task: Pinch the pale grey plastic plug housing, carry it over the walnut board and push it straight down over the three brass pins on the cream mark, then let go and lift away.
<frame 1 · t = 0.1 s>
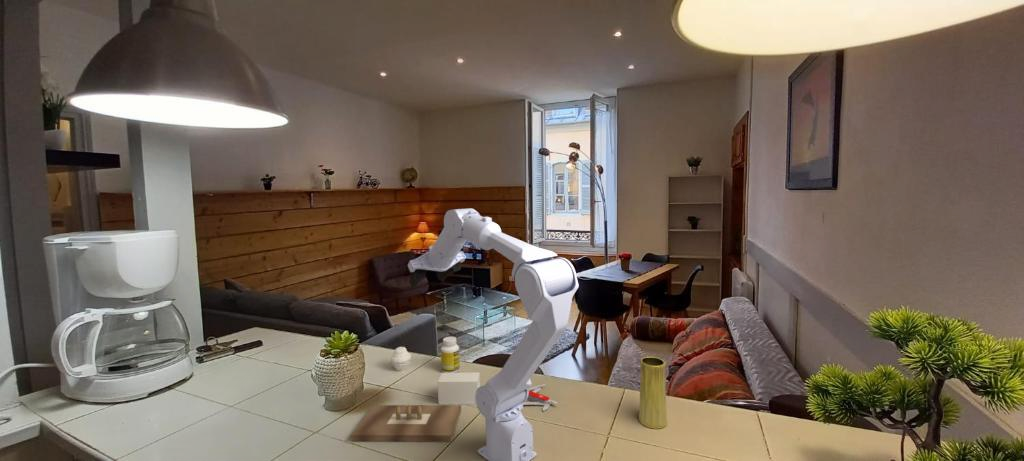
hand: (425, 280, 98), 32 cm above the kitchen counter, tool tilted 50°, fingers open, 7 cm apart
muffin: (401, 369, 122), on the kitchen counter
supplement bottle: (451, 370, 120), on the kitchen counter
swiss army knife: (536, 402, 100), on the kitchen counter
vase: (652, 422, 90), on the kitchen counter
pin board: (409, 425, 92), on the kitchen counter
plug housing: (460, 399, 103), on the kitchen counter
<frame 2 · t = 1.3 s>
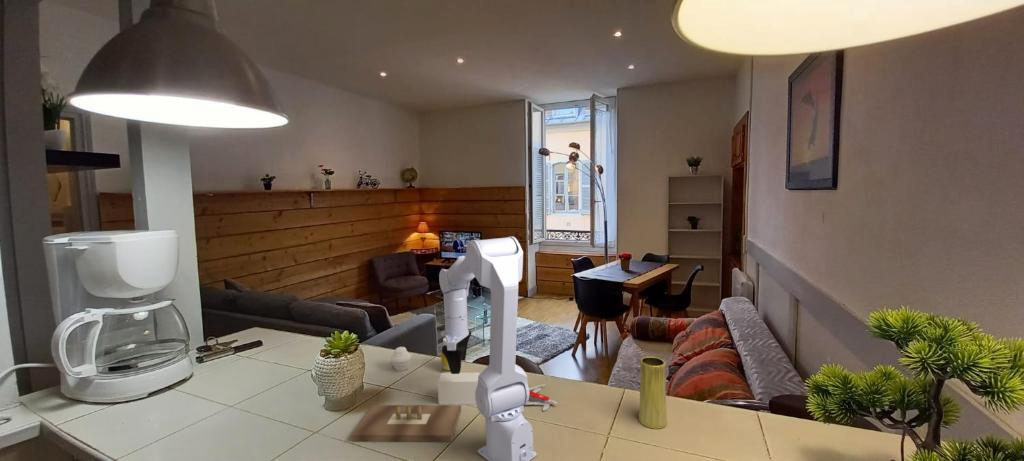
hand: (458, 366, 102), 9 cm above the kitchen counter, tool pointing down, fingers open, 7 cm apart
nothing on the kitchen counter moved.
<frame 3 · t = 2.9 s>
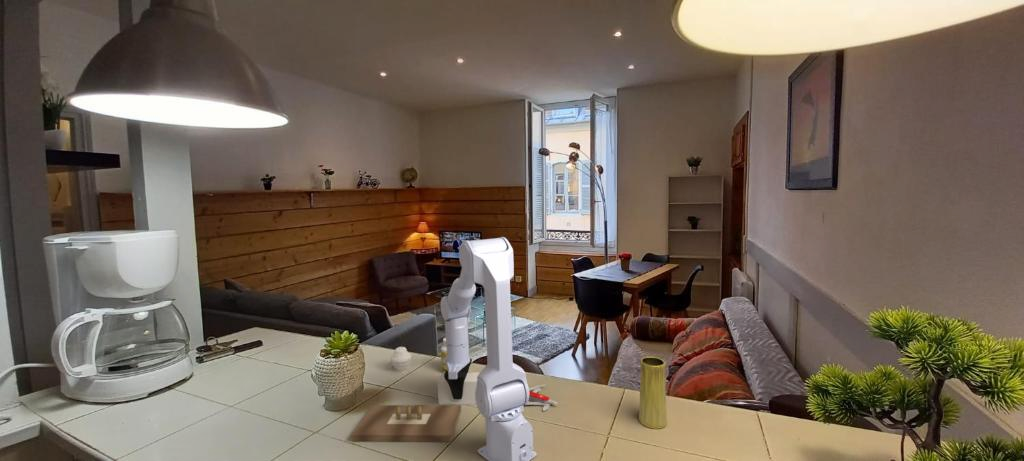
hand: (459, 392, 102), 2 cm above the kitchen counter, tool pointing down, fingers closed on plug housing, 5 cm apart
plug housing: (460, 399, 103), on the kitchen counter, touching gripper
everything else where it was.
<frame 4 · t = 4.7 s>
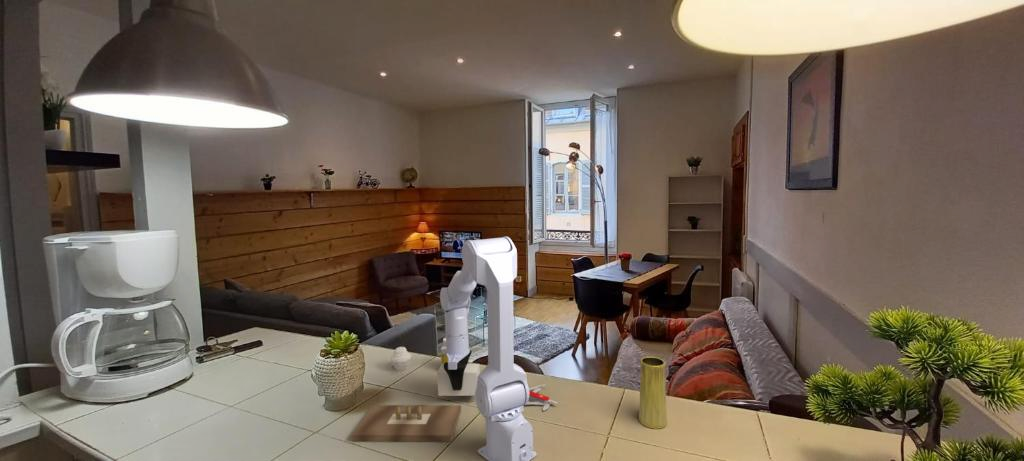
hand: (459, 384, 102), 4 cm above the kitchen counter, tool pointing down, fingers closed on plug housing, 5 cm apart
plug housing: (459, 390, 102), point 2 cm above the kitchen counter, touching gripper
everything else where it was.
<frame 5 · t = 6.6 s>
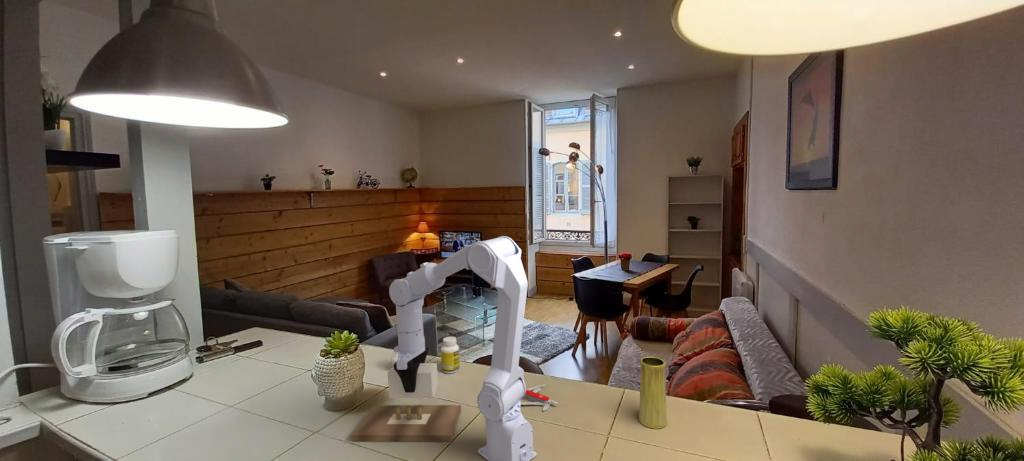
hand: (413, 385, 92), 9 cm above the kitchen counter, tool pointing down, fingers closed on plug housing, 5 cm apart
plug housing: (414, 392, 92), point 7 cm above the kitchen counter, touching gripper
everything else where it was.
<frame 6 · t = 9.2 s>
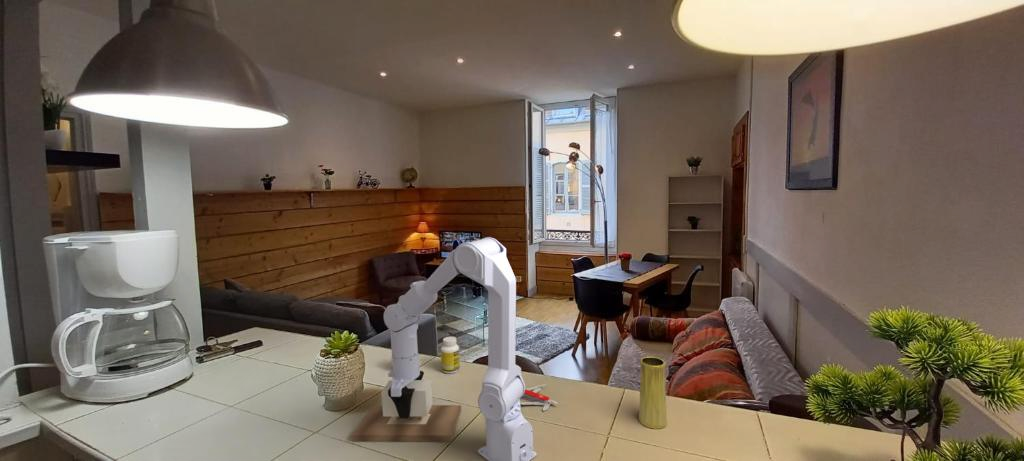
hand: (408, 410, 91), 4 cm above the kitchen counter, tool pointing down, fingers closed on plug housing, 5 cm apart
plug housing: (408, 410, 91), point 4 cm above the kitchen counter, touching gripper, pin board
everything else where it was.
when the fingers open (3 cm above the kitchen counter, at t = 10.5 s): plug housing drops 1 cm, resting on pin board.
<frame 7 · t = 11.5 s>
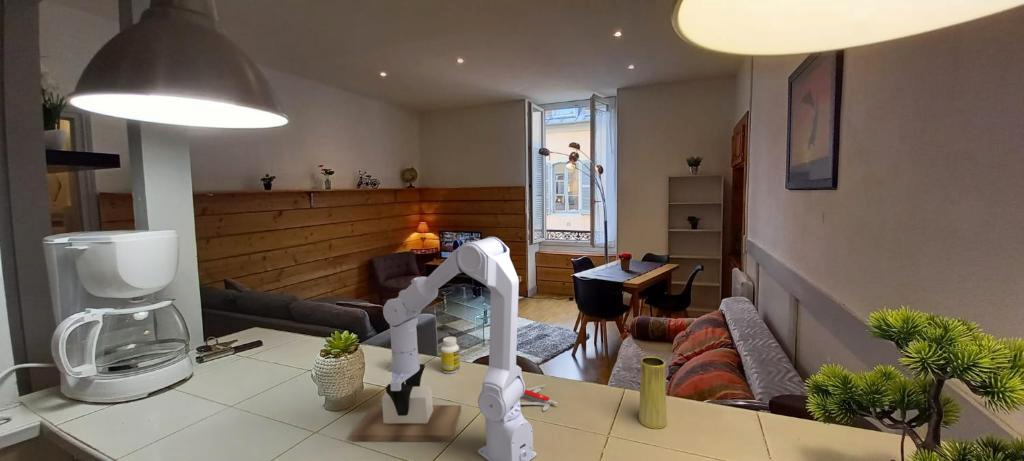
hand: (408, 405, 91), 5 cm above the kitchen counter, tool pointing down, fingers open, 7 cm apart
plug housing: (408, 416, 91), point 2 cm above the kitchen counter, touching pin board
everything else where it was.
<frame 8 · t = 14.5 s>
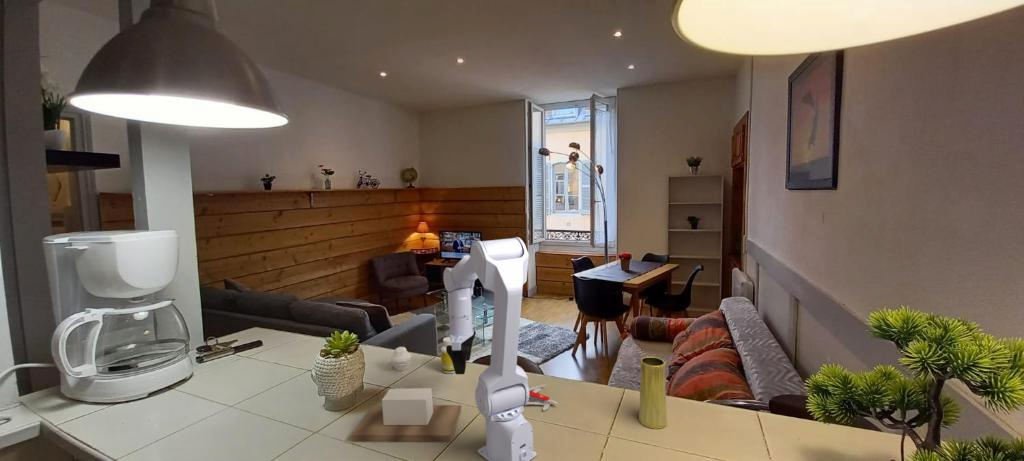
hand: (463, 366, 100), 9 cm above the kitchen counter, tool pointing down, fingers open, 7 cm apart
nothing on the kitchen counter moved.
at the end: plug housing 0.0 cm off-centre on the pin board, point 1.6 cm above the pin board's base; plug housing tilted 0°; the gripper is holding nothing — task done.
